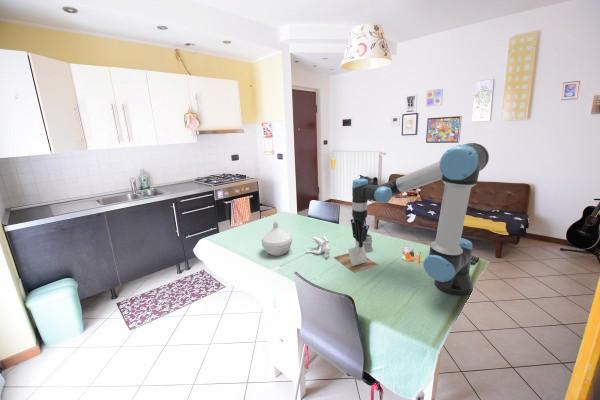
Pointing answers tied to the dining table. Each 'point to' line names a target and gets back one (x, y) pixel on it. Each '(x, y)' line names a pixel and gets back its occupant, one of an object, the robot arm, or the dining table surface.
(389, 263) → the dining table surface
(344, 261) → the board
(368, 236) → the mug
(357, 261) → the tile
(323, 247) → the person figurine
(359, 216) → the robot arm
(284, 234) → the vase
